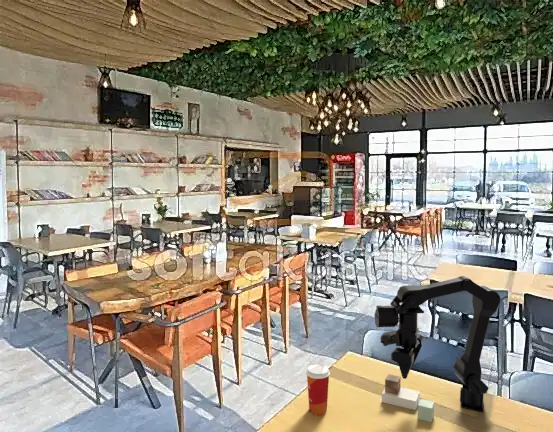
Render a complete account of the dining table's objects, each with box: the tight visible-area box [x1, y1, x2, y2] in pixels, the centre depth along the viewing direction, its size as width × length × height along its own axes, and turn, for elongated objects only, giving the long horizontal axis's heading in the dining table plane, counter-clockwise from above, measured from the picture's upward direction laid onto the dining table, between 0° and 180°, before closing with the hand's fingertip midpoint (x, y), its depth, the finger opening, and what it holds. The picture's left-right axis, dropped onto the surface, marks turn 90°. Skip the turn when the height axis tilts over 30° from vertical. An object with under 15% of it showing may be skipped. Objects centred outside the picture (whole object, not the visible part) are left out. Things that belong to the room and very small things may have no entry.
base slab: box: [381, 386, 421, 411], centre depth 145 cm, size 11×7×3 cm, turn 62°
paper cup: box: [305, 364, 331, 416], centre depth 139 cm, size 8×8×14 cm
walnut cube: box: [384, 374, 402, 395], centre depth 146 cm, size 4×4×4 cm
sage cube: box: [417, 398, 435, 423], centre depth 135 cm, size 4×4×4 cm
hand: (407, 372), depth 140 cm, fingers open, 9 cm apart
